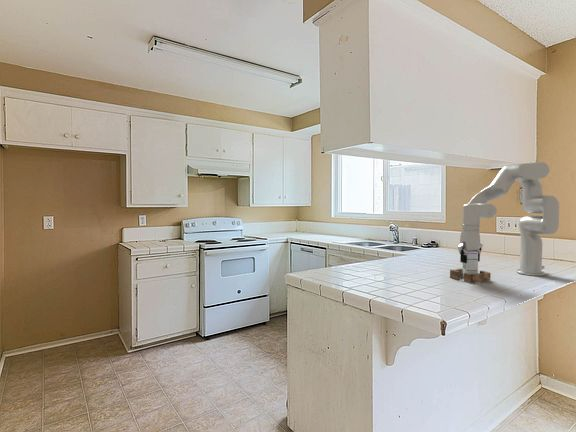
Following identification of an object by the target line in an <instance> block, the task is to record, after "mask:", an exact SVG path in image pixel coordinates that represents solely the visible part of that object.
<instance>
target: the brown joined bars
mask: <svg viewBox="0 0 576 432" xmlns="http://www.w3.org/2000/svg"><path fill="white" fill-rule="evenodd" d="M449 278H451V280H452V279H453V280H457V281H458V280H461V278H463V267H461V268H454V269H449ZM490 281H491V272H489V271H485V270H479V272H478V274H469V273H464V278H463V282H465V283H469V284H477V283H484V282H490Z"/></svg>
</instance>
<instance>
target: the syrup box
mask: <svg viewBox="0 0 576 432" xmlns="http://www.w3.org/2000/svg"><path fill="white" fill-rule="evenodd" d="M464 252H465V251H464ZM466 255H467V263H462V268H463V277H462V279H464V273H469V274H478V273H479V262H478V252H476V251H468V252H467V254H466Z"/></svg>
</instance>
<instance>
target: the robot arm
mask: <svg viewBox="0 0 576 432" xmlns="http://www.w3.org/2000/svg"><path fill="white" fill-rule="evenodd" d="M549 173H550V166H549V165H548V164H547V163H546V162H544V161H539V162H529V163H528V162H527V163H517V164H515V163H514V164H508V165H504V166H503V167H502V168H501V170H500V171H499V172H498V173H497V175H496V177H495V178H494V179H493V180H492V182H491V183H490V184H489V185H488V186H487V187H484V189H482V190H481V191H479V192H478V193H476V194H475V195H474V196H473V197H472V198H471V200H470V201H469V202H468V203H464V204H463V205H462V225H461V226H462V230H461V232H460V237H459V245H458V246H457V248H458V249H457V250H458V253H459V255H460V257H459V259H460V260H459V261H460V263H462V264H463V263H467V255H466V254H467V252H468V251H476V252H478V263H479V262H481V261H480V260H481V259H480V258H481V251H482V249H483V243H482V242H481V234H480V219H491V218H493V217H495V215H496V214H497V212H498V211H497V208H496V206H495V205H494V204H492V203H488V202H490V201H492V200H493V201H494V200H496V199H498V198H501V197H503V196H505V195H506V194H507V193H508V192H509V190H510V188H511V187H512V186H513V184H515V182H517V181H518V183H520V185H521V187H522V209H523V211H524V212H525V213H528V214H542V215H525V216H523V217H521V218H520V219H519V221H518V229H519V232H520V255H519V256H520V258H519V268H518V269H516V273H517V274H521V275H527V276H535V277H536V276H537V277H538V276H539V277H542V276H546V272H544V271H542V270H544V269H546V267H545V265H543V239H542V237H541V236H540V235H547V236H549V235H550V236H551V235H555V234H556V233H557V232H558V230H559V227H560V225H559V224H560V202H559V200H558V198H557V197H555V196H554V195H550V194H549V195H547V194H545V195H544V194H543V185H542V183H541V181H540V180H542V179H545V178H546V177H547V176H548V175H549ZM464 251H465V252H464Z"/></svg>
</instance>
